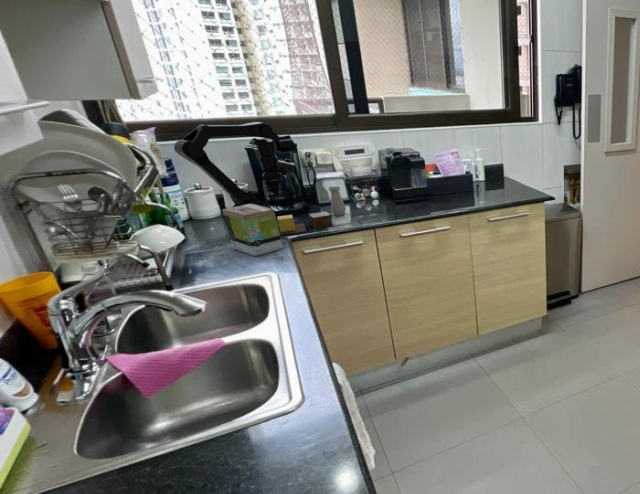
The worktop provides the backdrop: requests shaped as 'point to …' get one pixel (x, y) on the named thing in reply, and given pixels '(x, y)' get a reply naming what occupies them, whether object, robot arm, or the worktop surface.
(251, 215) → the tea box
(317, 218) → the walnut block
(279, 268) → the worktop surface
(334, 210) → the salt shaker
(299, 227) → the coaster
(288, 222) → the yellow block
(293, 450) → the worktop surface
